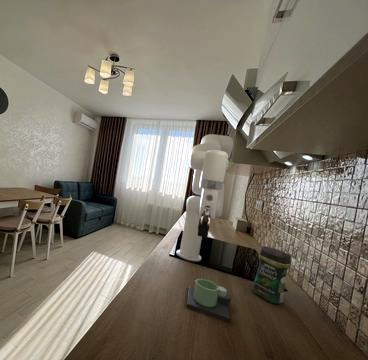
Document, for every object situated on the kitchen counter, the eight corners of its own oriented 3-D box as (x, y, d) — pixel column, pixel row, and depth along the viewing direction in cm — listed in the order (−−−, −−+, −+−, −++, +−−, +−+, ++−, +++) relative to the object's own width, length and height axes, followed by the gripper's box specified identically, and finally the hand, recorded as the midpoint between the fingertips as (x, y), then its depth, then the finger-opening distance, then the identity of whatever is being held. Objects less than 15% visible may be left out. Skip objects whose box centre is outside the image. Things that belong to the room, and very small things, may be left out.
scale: (188, 288, 77) (190, 280, 77) (227, 300, 73) (229, 292, 73) (186, 307, 65) (188, 297, 65) (233, 323, 61) (235, 313, 61)
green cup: (193, 292, 73) (196, 276, 72) (215, 299, 70) (218, 283, 70) (192, 302, 66) (195, 285, 66) (216, 311, 64) (220, 293, 64)
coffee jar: (248, 291, 83) (257, 244, 82) (259, 288, 87) (268, 244, 86) (275, 307, 74) (285, 254, 74) (286, 303, 78) (296, 254, 78)
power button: (215, 290, 73) (216, 284, 73) (225, 293, 72) (226, 288, 72) (215, 295, 70) (216, 289, 70) (226, 298, 69) (227, 292, 69)
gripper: (225, 188, 66) (214, 242, 67) (220, 187, 82) (211, 230, 83) (199, 184, 68) (190, 236, 69) (199, 183, 85) (192, 225, 85)
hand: (202, 233), depth 76 cm, fingers open, 9 cm apart
